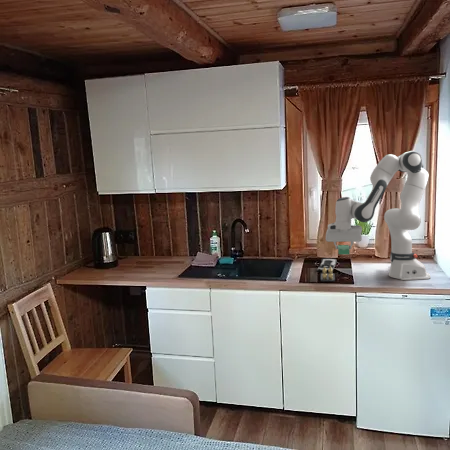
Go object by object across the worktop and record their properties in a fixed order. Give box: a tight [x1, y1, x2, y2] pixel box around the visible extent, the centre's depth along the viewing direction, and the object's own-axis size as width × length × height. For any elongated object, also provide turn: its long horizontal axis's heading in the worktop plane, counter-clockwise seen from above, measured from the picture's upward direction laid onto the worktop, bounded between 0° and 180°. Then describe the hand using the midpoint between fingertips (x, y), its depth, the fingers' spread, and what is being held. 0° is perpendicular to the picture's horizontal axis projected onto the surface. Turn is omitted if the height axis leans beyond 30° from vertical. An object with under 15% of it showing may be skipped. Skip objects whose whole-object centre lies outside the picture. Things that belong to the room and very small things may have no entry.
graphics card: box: [316, 258, 338, 273], centre depth 297 cm, size 10×3×25 cm
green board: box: [337, 244, 351, 255], centre depth 269 cm, size 6×14×2 cm, turn 168°
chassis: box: [320, 267, 336, 282], centre depth 273 cm, size 8×13×5 cm, turn 168°
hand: (343, 248), depth 269 cm, fingers closed on green board, 6 cm apart
